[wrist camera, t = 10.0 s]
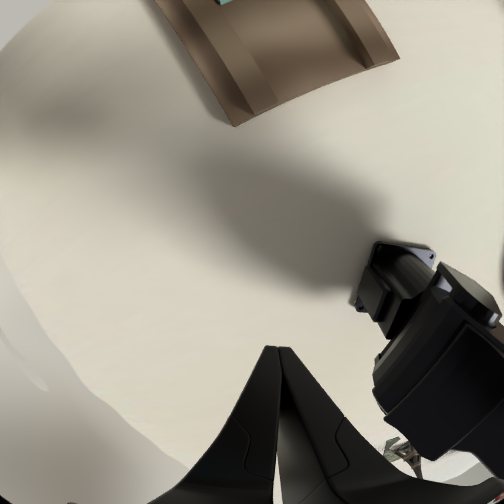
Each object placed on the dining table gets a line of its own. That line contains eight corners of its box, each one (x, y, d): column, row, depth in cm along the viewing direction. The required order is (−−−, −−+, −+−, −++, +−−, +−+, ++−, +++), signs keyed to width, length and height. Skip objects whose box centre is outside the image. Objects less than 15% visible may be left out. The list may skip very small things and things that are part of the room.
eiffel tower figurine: (384, 438, 35) (403, 502, 23) (437, 417, 34) (462, 475, 22) (379, 465, 41) (391, 515, 29) (423, 448, 40) (439, 496, 28)
